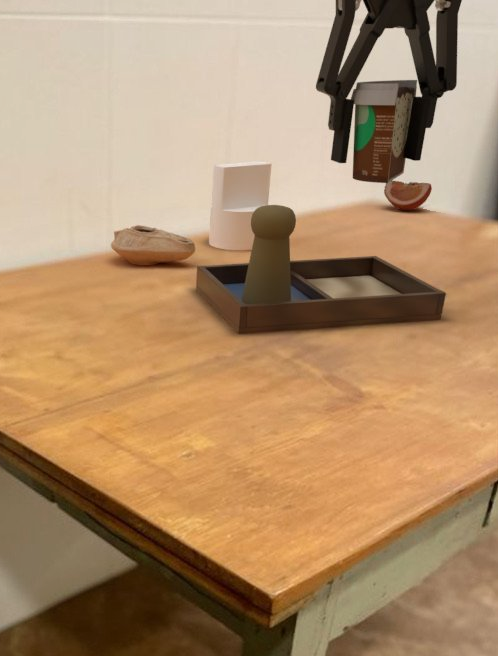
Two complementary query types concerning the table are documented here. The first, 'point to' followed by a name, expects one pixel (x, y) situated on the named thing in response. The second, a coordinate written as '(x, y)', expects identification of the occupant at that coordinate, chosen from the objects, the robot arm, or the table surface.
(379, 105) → the food container
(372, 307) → the sorting tray
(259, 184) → the cylinder with rectangular tab
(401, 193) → the fruit slice
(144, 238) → the pottery oil lamp
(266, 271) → the olive knobbed cone
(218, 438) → the table surface
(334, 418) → the table surface
